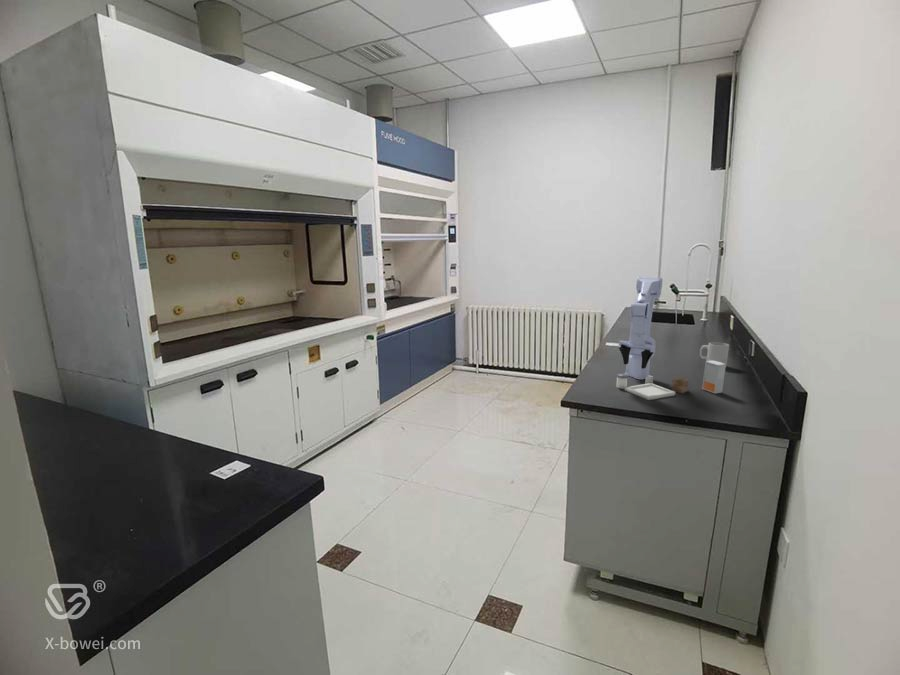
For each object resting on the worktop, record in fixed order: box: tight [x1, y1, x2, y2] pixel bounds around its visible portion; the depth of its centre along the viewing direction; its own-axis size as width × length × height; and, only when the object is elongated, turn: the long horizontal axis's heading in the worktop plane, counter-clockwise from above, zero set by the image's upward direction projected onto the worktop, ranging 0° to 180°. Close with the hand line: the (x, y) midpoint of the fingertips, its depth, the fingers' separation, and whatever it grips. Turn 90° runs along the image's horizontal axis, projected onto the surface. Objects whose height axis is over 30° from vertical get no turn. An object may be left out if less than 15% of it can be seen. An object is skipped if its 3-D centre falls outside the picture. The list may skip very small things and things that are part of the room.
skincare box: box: [701, 360, 727, 394], centre depth 178 cm, size 6×4×12 cm
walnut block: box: [671, 376, 689, 394], centre depth 179 cm, size 4×4×5 cm
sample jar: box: [615, 373, 629, 390], centre depth 184 cm, size 4×4×5 cm
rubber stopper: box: [644, 377, 654, 384], centre depth 187 cm, size 3×3×3 cm
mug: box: [699, 341, 730, 369], centre depth 214 cm, size 12×8×11 cm
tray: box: [624, 383, 676, 401], centre depth 177 cm, size 12×14×1 cm
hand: (634, 366), depth 179 cm, fingers open, 7 cm apart
